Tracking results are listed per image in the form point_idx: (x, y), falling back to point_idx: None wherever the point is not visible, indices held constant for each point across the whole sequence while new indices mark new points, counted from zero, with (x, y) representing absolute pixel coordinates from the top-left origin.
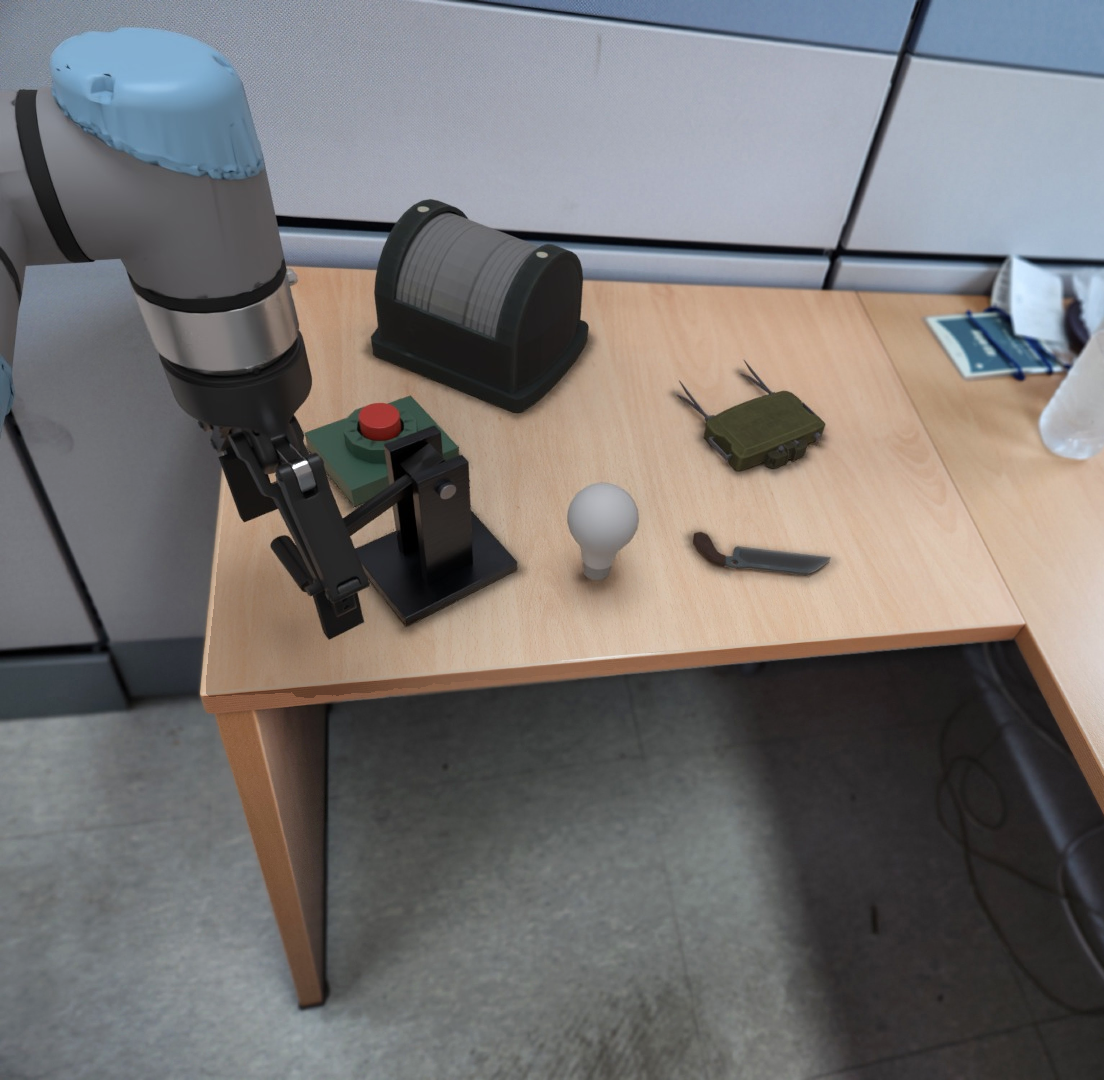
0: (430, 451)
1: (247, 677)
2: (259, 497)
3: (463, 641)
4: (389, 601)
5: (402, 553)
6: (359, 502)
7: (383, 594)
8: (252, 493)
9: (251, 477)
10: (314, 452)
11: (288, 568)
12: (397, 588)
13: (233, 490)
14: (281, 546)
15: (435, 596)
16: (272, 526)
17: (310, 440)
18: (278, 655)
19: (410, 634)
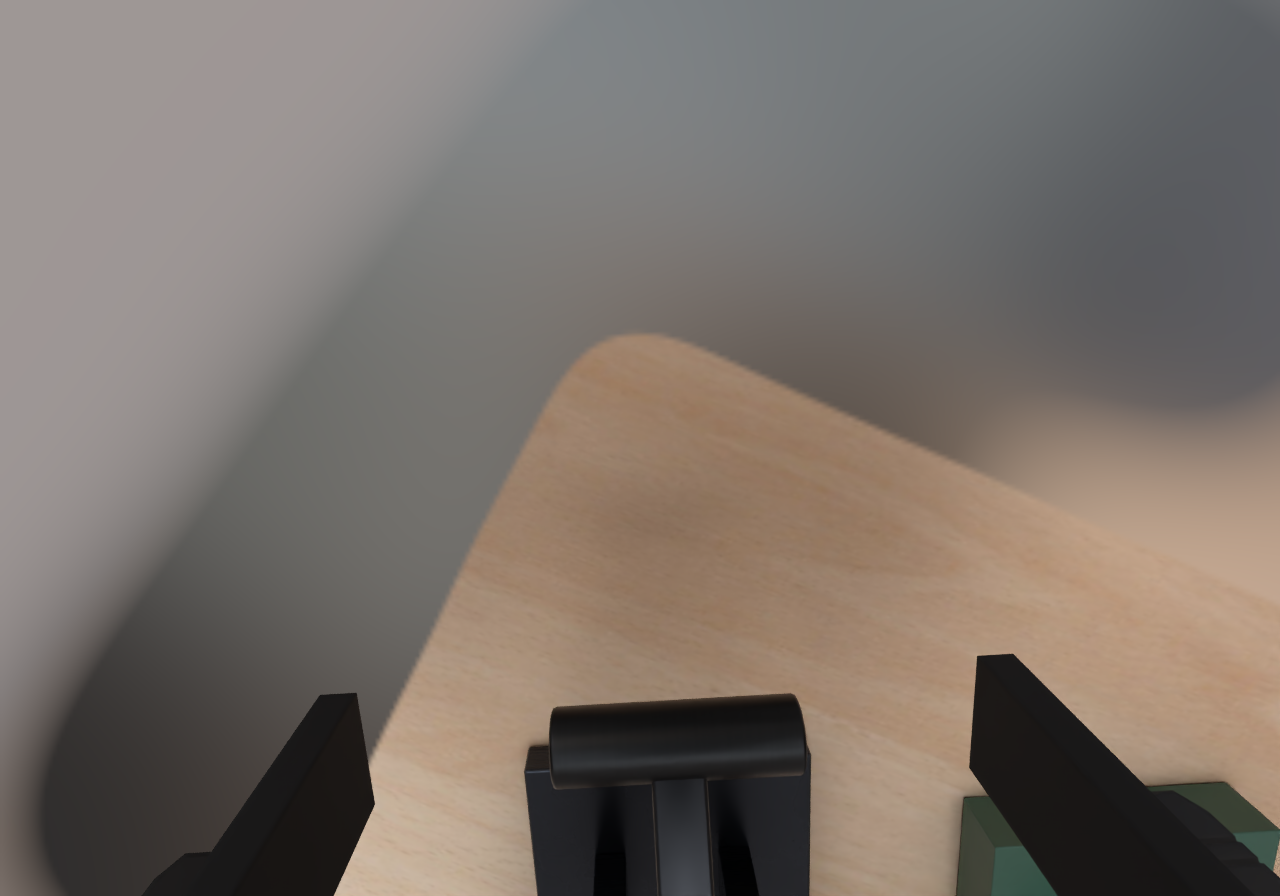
0: None
1: (583, 382)
2: (1019, 787)
3: (421, 828)
4: None
5: (728, 846)
6: (966, 815)
7: None
8: (1041, 795)
9: (1096, 881)
10: (1199, 803)
11: (654, 722)
12: (626, 793)
13: (1082, 777)
14: (754, 748)
15: (553, 853)
16: (1026, 611)
17: (1241, 832)
18: (609, 470)
19: (504, 744)
